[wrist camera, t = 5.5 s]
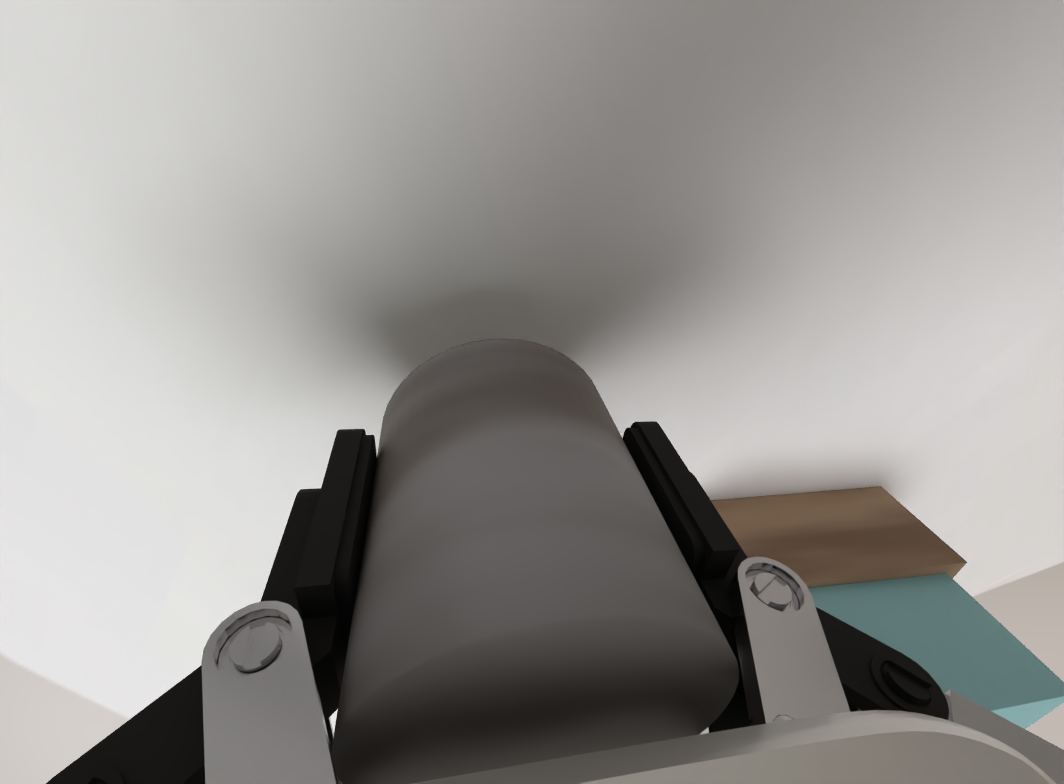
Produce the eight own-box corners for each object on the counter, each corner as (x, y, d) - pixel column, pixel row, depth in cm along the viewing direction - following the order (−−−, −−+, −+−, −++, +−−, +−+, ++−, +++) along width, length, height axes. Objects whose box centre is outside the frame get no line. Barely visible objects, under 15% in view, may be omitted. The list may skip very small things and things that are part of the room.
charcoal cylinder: (371, 337, 10) (294, 650, 5) (623, 339, 12) (805, 593, 6) (389, 520, 14) (356, 838, 8) (584, 508, 15) (678, 777, 9)
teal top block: (752, 593, 18) (846, 739, 14) (946, 573, 21) (1076, 694, 17) (677, 715, 24) (731, 848, 19) (839, 688, 26) (918, 801, 22)
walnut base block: (687, 497, 22) (745, 590, 18) (876, 482, 25) (967, 561, 20) (638, 629, 28) (674, 721, 24) (795, 607, 30) (853, 688, 26)
